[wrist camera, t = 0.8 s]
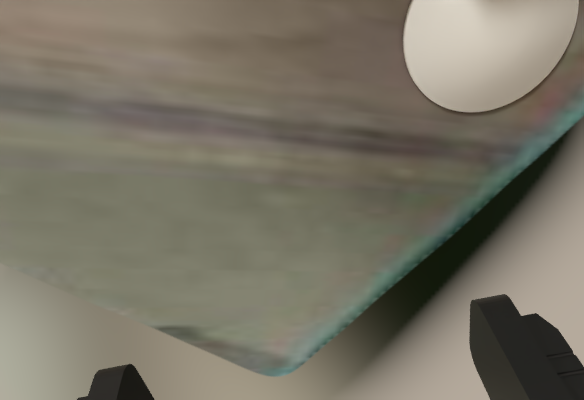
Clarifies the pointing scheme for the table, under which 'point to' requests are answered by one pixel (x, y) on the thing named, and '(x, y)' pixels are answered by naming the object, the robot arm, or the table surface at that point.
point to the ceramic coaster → (484, 48)
